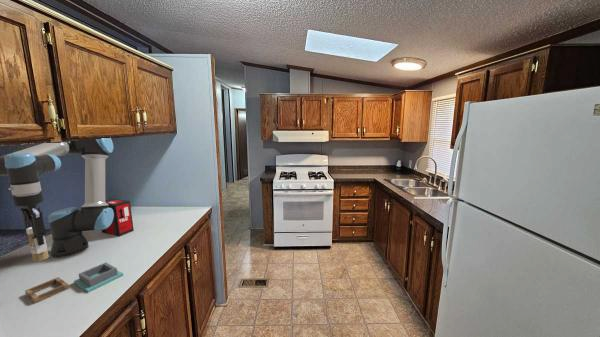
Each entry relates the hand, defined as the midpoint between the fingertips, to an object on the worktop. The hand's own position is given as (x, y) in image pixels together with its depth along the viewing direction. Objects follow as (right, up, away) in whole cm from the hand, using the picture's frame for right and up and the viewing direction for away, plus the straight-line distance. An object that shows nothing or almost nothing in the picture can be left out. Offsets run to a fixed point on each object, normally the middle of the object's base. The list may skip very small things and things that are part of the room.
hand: (39, 250), depth 96 cm
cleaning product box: (-13, -8, +59) cm, 61 cm away
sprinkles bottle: (0, -4, +1) cm, 4 cm away
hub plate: (+15, -16, +11) cm, 25 cm away
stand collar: (0, -18, +3) cm, 18 cm away
